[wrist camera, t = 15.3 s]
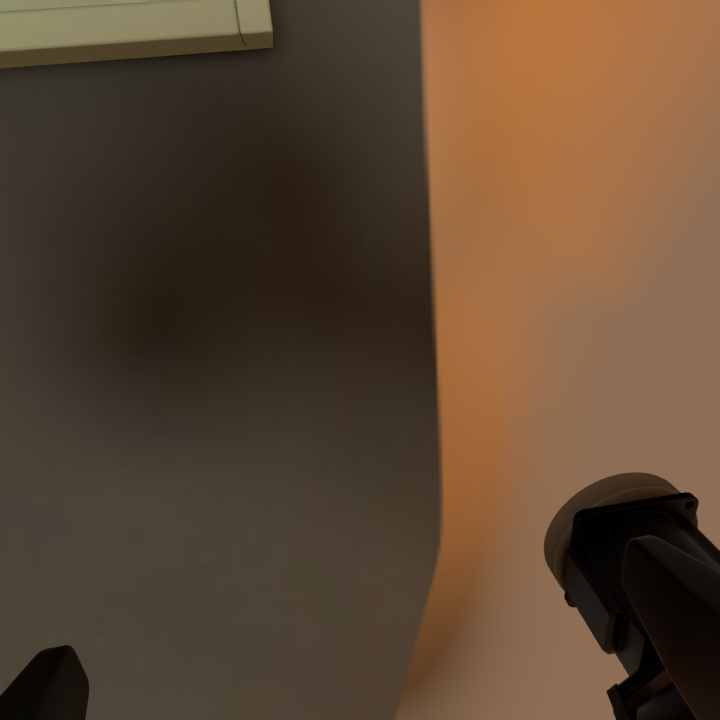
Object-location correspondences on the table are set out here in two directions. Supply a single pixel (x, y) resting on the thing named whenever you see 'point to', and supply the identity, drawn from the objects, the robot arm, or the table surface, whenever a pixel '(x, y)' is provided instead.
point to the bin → (127, 29)
